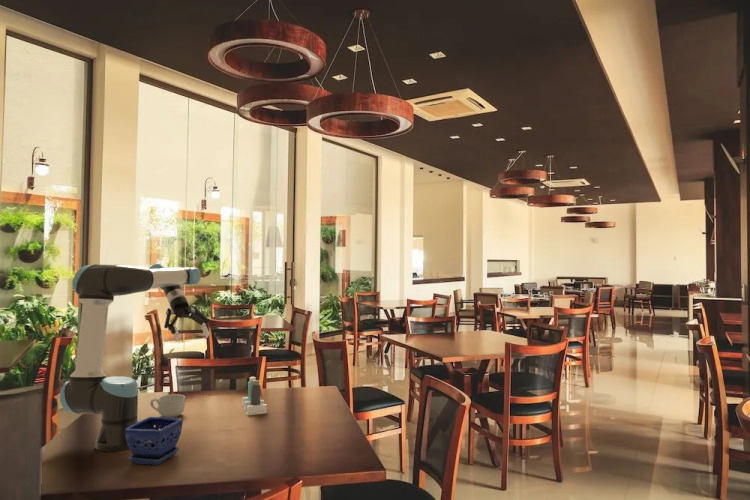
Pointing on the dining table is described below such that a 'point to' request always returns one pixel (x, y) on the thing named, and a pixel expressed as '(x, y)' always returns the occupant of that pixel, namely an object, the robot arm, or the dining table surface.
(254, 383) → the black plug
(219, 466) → the dining table surface
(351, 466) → the dining table surface
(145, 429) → the flower pot
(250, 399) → the teal bottle
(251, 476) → the dining table surface
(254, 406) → the cord comb
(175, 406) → the teacup
